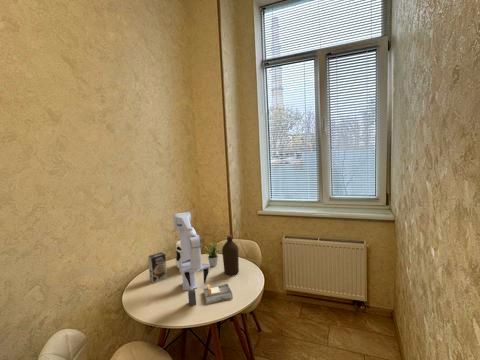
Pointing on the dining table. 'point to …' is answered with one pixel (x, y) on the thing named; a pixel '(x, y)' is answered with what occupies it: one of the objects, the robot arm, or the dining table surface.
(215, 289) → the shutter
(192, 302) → the plug
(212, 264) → the house plant
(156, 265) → the coffee box
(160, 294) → the dining table surface
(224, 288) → the socket
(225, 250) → the olive oil
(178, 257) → the milk container
